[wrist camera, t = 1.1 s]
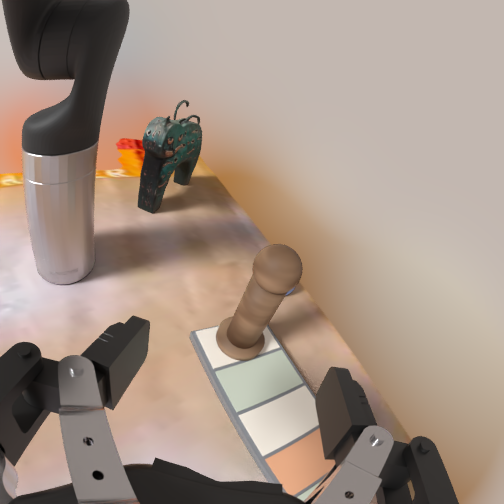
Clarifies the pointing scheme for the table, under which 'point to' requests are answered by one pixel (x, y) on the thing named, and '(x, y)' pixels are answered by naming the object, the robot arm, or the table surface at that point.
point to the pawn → (259, 302)
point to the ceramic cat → (167, 156)
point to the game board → (269, 411)
